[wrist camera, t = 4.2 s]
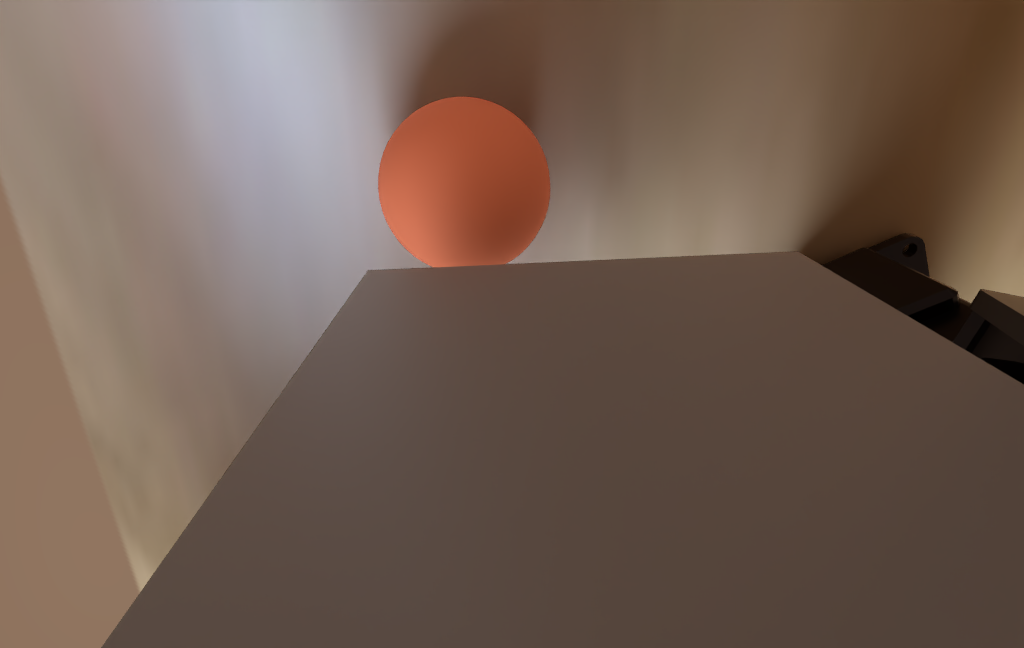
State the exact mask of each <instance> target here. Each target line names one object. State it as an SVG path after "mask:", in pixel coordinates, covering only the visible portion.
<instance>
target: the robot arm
mask: <svg viewBox="0 0 1024 648" xmlns="http://www.w3.org/2000/svg"><path fill="white" fill-rule="evenodd" d="M908 244H909V248H908V249H907V251H905V252H904V253H902V252H903V249H904V247H905V246H907V245H908ZM822 266H823V267H825V268H827V269H828V270H830V271H832V272H834V273H835V274H837V275H839V276H840V277H842V278H844V279H845V280H847V281H849V282H851V283H852V284H854V285H856V286H857V287H859V288H861V289H862V290H864V291H866V292H868V293H869V294H871V295H873V296H874V297H876V298H878V299H879V300H881V301H883V302H885V303H886V304H888V305H890V306H891V307H893V308H895V309H896V310H898V311H900V312H902V313H903V314H905V315H907V316H908V317H910V318H912V319H913V320H915V321H917V322H919V323H920V324H922V325H924V326H925V327H927V328H929V329H930V330H932V331H934V332H936V333H937V334H939V335H941V336H942V337H944V338H946V339H947V340H949V341H951V342H952V343H954V344H956V345H958V346H959V347H961V348H963V349H964V350H966V351H968V352H969V353H971V354H973V355H975V356H976V357H978V358H980V359H981V360H983V361H985V362H986V363H988V364H990V365H992V366H993V367H995V368H997V369H998V370H1000V371H1002V372H1003V373H1005V374H1007V375H1009V376H1010V377H1012V378H1014V379H1015V380H1017V381H1019V382H1020V383H1022V384H1024V297H1020V296H1015V295H1010V294H1005V293H1000V292H995V291H990V290H985V289H980V291H979V292H978V294H977V296H976V297H975V299H974V300H973V302H972V303H970V302H967V301H965V300H963V299H961V298H959V295H958V291H957V290H956V289H954V288H952V287H950V286H947V285H945V284H943V283H941V282H939V281H937V280H935V279H932V278H930V277H929V270H928V264H927V257H926V251H925V244H924V242H923V240H922V239H921V238H919V237H917V236H914V235H912V234H906V233H905V234H901V235H898V236H896V237H894V238H892V239H889V240H887V241H885V242H882V243H880V244H878V245H875V246H873V247H871V248H868V249H867V248H862V249H860V250H857V251H855V252H853V253H850V254H848V255H846V256H843V257H841V258H839V259H836V260H834V261H832V262H829V263H827V264H825V265H822Z"/></svg>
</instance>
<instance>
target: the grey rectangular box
mask: <svg viewBox="0 0 1024 648" xmlns="http://www.w3.org/2000/svg"><path fill="white" fill-rule="evenodd" d="M101 648H1024V384H1022V383H1020V382H1019V381H1017V380H1015V379H1014V378H1012V377H1010V376H1009V375H1007V374H1005V373H1003V372H1002V371H1000V370H998V369H997V368H995V367H993V366H992V365H990V364H988V363H986V362H985V361H983V360H981V359H980V358H978V357H976V356H975V355H973V354H971V353H969V352H968V351H966V350H964V349H963V348H961V347H959V346H958V345H956V344H954V343H952V342H951V341H949V340H947V339H946V338H944V337H942V336H941V335H939V334H937V333H936V332H934V331H932V330H930V329H929V328H927V327H925V326H924V325H922V324H920V323H919V322H917V321H915V320H913V319H912V318H910V317H908V316H907V315H905V314H903V313H902V312H900V311H898V310H896V309H895V308H893V307H891V306H890V305H888V304H886V303H885V302H883V301H881V300H879V299H878V298H876V297H874V296H873V295H871V294H869V293H868V292H866V291H864V290H862V289H861V288H859V287H857V286H856V285H854V284H852V283H851V282H849V281H847V280H845V279H844V278H842V277H840V276H839V275H837V274H835V273H834V272H832V271H830V270H828V269H827V268H825V267H823V266H822V265H820V264H818V263H817V262H815V261H813V260H811V259H810V258H808V257H806V256H805V255H803V254H801V253H800V252H798V251H794V252H772V253H749V254H727V255H704V256H681V257H659V258H636V259H614V260H591V261H569V262H546V263H524V264H501V265H479V266H456V267H433V268H411V269H388V270H368V271H367V273H366V274H365V275H364V277H363V278H362V280H361V281H360V282H359V284H358V285H357V287H356V288H355V290H354V291H353V292H352V294H351V295H350V297H349V298H348V299H347V301H346V302H345V304H344V305H343V307H342V308H341V309H340V311H339V312H338V314H337V315H336V316H335V318H334V319H333V321H332V322H331V324H330V325H329V326H328V328H327V329H326V331H325V332H324V333H323V335H322V336H321V338H320V339H319V340H318V342H317V343H316V345H315V346H314V348H313V349H312V350H311V352H310V353H309V355H308V356H307V357H306V359H305V360H304V362H303V363H302V365H301V366H300V367H299V369H298V370H297V372H296V373H295V374H294V376H293V377H292V379H291V380H290V382H289V383H288V384H287V386H286V387H285V389H284V390H283V391H282V393H281V394H280V396H279V397H278V398H277V400H276V401H275V403H274V404H273V406H272V407H271V408H270V410H269V411H268V413H267V414H266V415H265V417H264V418H263V420H262V421H261V423H260V424H259V425H258V427H257V428H256V430H255V431H254V432H253V434H252V435H251V437H250V438H249V440H248V441H247V442H246V444H245V445H244V447H243V448H242V449H241V451H240V452H239V454H238V455H237V456H236V458H235V459H234V461H233V462H232V464H231V465H230V466H229V468H228V469H227V471H226V472H225V473H224V475H223V476H222V478H221V479H220V481H219V482H218V483H217V485H216V486H215V488H214V489H213V490H212V492H211V493H210V495H209V496H208V497H207V499H206V500H205V502H204V503H203V505H202V506H201V507H200V509H199V510H198V512H197V513H196V514H195V516H194V517H193V519H192V520H191V522H190V523H189V524H188V526H187V527H186V529H185V530H184V531H183V533H182V534H181V536H180V537H179V539H178V540H177V541H176V543H175V544H174V546H173V547H172V548H171V550H170V551H169V553H168V554H167V555H166V557H165V558H164V560H163V561H162V563H161V564H160V565H159V567H158V568H157V570H156V571H155V572H154V574H153V575H152V577H151V578H150V580H149V581H148V582H147V584H146V585H145V587H144V588H143V589H142V591H141V592H140V594H139V595H138V597H137V598H136V600H135V601H134V602H133V604H132V605H131V607H130V608H129V609H128V611H127V612H126V614H125V615H124V616H123V618H122V619H121V621H120V622H119V624H118V625H117V626H116V628H115V629H114V630H113V632H112V633H111V635H110V636H109V638H108V639H107V640H106V642H105V643H104V645H103V646H102V647H101Z"/></svg>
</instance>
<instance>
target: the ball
mask: <svg viewBox="0 0 1024 648" xmlns="http://www.w3.org/2000/svg"><path fill="white" fill-rule="evenodd" d="M378 190H379V199H380V203H381V207H382V211H383V214H384V216H385V219H386V221H387V223H388V225H389V227H390V229H391V231H392V232H393V234H394V235H395V237H396V238H397V239H398V241H399V242H400V243H401V244H402V245H403V246H404V247H405V248H406V249H407V250H408V251H409V252H410V253H411V254H412V255H413V256H415V257H416V258H418V259H419V260H421V261H422V262H424V263H426V264H428V265H430V266H432V267H456V266H479V265H501V264H506V263H508V262H510V261H512V260H513V259H514V258H516V257H517V256H518V255H520V254H521V253H522V252H523V251H524V250H525V249H526V248H527V247H528V246H529V244H530V243H531V242H532V241H533V239H534V238H535V236H536V235H537V233H538V231H539V230H540V228H541V226H542V224H543V221H544V219H545V216H546V213H547V210H548V205H549V199H550V177H549V170H548V165H547V161H546V158H545V155H544V153H543V150H542V148H541V146H540V144H539V142H538V140H537V139H536V137H535V136H534V134H533V133H532V132H531V130H530V129H529V128H528V127H527V126H526V125H525V124H524V122H523V121H522V120H520V119H519V118H518V117H517V116H516V115H514V114H513V113H512V112H510V111H509V110H507V109H505V108H504V107H502V106H500V105H498V104H495V103H493V102H491V101H487V100H484V99H480V98H474V97H450V98H444V99H441V100H437V101H434V102H431V103H429V104H427V105H425V106H423V107H421V108H420V109H418V110H417V111H415V112H413V113H412V114H411V115H410V116H409V117H408V118H406V119H405V120H404V121H403V122H402V123H401V124H400V126H399V127H398V128H397V129H396V130H395V132H394V133H393V135H392V136H391V138H390V140H389V141H388V143H387V146H386V148H385V150H384V152H383V156H382V159H381V163H380V169H379V177H378Z"/></svg>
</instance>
